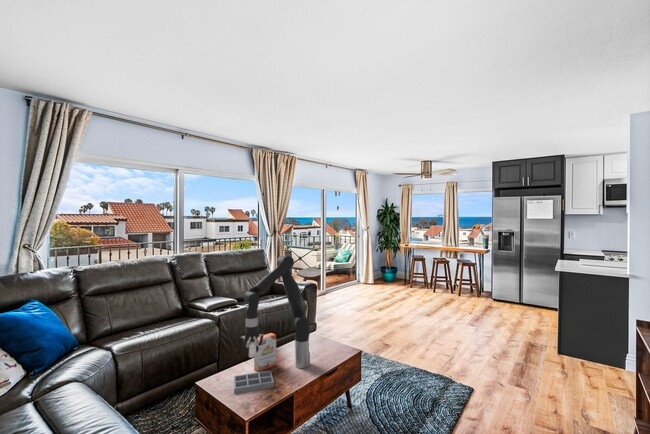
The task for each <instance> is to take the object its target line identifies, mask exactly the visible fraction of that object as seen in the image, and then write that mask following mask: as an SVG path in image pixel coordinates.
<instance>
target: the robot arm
mask: <svg viewBox="0 0 650 434" xmlns="http://www.w3.org/2000/svg"><path fill="white" fill-rule="evenodd" d="M294 264H295V260H294V257H292V256H290V255H280V256H278V258H277V260H276V266H277V267H275V268H274V269H273V270H272V271H270V272H269V273H268V274H266V275H265V276H264V277H262V278H261V279H260V280H259V281H258V282H257V283H256V284H255V285H253V286H252V287H251V288H249V289H247V291H246V292H245V293H244V294H243V301H244V302H245V303H247V304H248V305H247V307H246V309H245V324H244V325H245V335H243V336H240V341H241V344H242V347H243V348H245V349H246V353H247V354H248V355H249V344H250V343H251V342H254V341H255V343H256V352H257V351H259V347H258V346H259V345H261V344H262V340H263V335H264V334H263V333H259V318H258V308H259V303H260V297H259V295H261V294H265V292H267V290H268V289H269V288H270V287H271V286H273V284H274V283H275V282H276V281H277V280H278V279H279V278H281V279H282V284H283V286H284V287H283V288H284V290H285V293H286V294H285V295H286V298H287V301H288V304H289V306H290V309H291V312H292V317H293V324H294V326H295V336H294V342H295V343H294V346H295V347H294V348H295V349H294V350H295V351H294V353H295V355H294V356H295V362H294V363H295V367H296V368H298V369H307V368H308V367H311V352H310V335H311V333H310V331H311V329H310V327H311V326H310V321H309V318H308V317H307V316H306V314H305V312H304V308H303V306H302V305H303V304H302V294H301V291H300V286H299V285H298V283H297V282H296V280H295V278H294V277H293V275H292V273H291V269H292V268H293V267H294ZM259 336H260V341H259V343H258V342H257V338H258V337H259ZM245 339H246V340H247V341H246V342H245Z"/></svg>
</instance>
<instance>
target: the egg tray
mask: <svg viewBox="0 0 650 434" xmlns="http://www.w3.org/2000/svg"><path fill="white" fill-rule="evenodd" d="M274 387H275V381H274V377H273V374H272V370H265V371H264V370H263V371H260V372H258V371H257V372H252V373H251V372H250V373H247V374H240V375H234V376H233V391H234V392H233V394H240V393H246V392H251V391H252V392H253V391H258V390H263V389H269V388H274Z"/></svg>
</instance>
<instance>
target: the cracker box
mask: <svg viewBox="0 0 650 434" xmlns="http://www.w3.org/2000/svg"><path fill="white" fill-rule="evenodd" d="M259 341H260V336H259V337H258V338H257V342H258V343H259ZM254 343H255V341H254ZM255 344H256V343H255ZM258 347H259V351H257V352H256V357H253V359H254V361H253V369H254V370H255V371H256V372H257V373H258V372H263V371H264V370H265V371H266V370H267V369H269V368H273V367H275V366H277V334H275V333H272V332H270V333H266V334H263V340H262V344H261V345H259V346H258Z"/></svg>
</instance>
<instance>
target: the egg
mask: <svg viewBox="0 0 650 434" xmlns="http://www.w3.org/2000/svg"><path fill="white" fill-rule="evenodd" d="M254 357H256V344H255V343H254V342H253V341H252V342H250V343H249V354H248V358H253V359H254Z"/></svg>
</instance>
